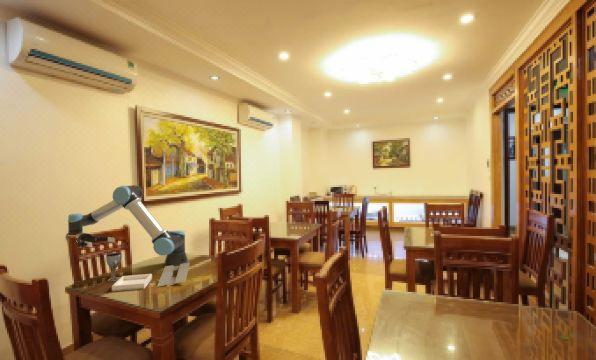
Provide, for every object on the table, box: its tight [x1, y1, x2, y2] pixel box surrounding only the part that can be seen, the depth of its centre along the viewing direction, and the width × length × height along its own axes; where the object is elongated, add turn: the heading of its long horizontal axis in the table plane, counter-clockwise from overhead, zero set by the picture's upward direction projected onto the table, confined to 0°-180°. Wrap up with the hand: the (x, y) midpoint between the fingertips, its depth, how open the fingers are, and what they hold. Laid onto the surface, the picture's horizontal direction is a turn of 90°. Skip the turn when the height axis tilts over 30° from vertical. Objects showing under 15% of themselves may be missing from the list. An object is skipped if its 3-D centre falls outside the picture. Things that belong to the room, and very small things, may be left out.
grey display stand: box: [156, 261, 191, 287], centre depth 174 cm, size 16×9×15 cm
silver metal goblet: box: [105, 252, 123, 282], centre depth 178 cm, size 8×8×15 cm
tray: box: [111, 273, 153, 292], centre depth 168 cm, size 16×16×3 cm
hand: (103, 242), depth 182 cm, fingers open, 13 cm apart
